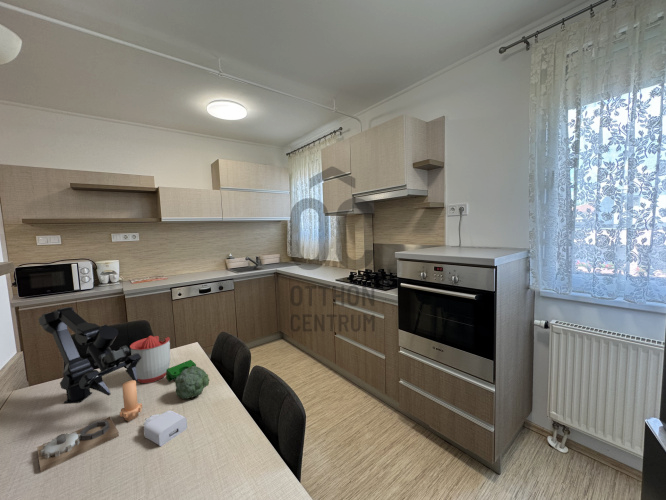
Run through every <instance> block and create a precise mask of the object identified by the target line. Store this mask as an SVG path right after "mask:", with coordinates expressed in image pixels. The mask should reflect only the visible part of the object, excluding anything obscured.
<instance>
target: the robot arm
mask: <svg viewBox="0 0 666 500" xmlns="http://www.w3.org/2000/svg"><path fill="white" fill-rule="evenodd" d="M38 323H39V325H40V326H41V327H42V329H43V330H44V332H45V331H46V332H47V333H49V334H51V335H52V336H53V339H54V341H55V344H56V346H57V348H58V350H59V353H60V355H61V357H62V360H63V362H64V364H65V366H64V370H63V372H62V373H63V378H62V379H61V381H60V382H59V384H60V385H59V386H60V388H61V389H63V390H65V392H66V399H65V400H64V401H63V404H72V403H73V404H74V403H82V401H84V400H85V399H87V398H88V397H89V396H91V395H92V394H93V391H91V389H92V390H94V391H98V392H100V393H102V394H104V395H106V396H111V394H112V392H111V390H110V389H109V387H108V386H107V384H106V383H105V382H104V380H103V376H106V375H108V374H110V373H113V372H114V371H115V372H116V371H117V370H120V369H122V368H124V369H125V372H126V374H127V375H128V376H129V377H130V379H131V380H135V381H136V383H137V382H138V380H137V373H136V365H137V363H138V362H139V360H140V359H141V356H140V354H138V353H135V354H133V355H129V356H127V354H129V353H130V347H128V345H127V344H126V345H123V346H121V347H119V349H118V350H115V349H113V350H112V348H111V347H110V346H111V345H113V343H114V341H115V340H116V338H117V337H118V335H119V330H118V329H117V328H115V327H114V326H109V325H108V324H104V325H99V324H96V323H91V322H88V321H87V320H85V319H84V318H83V317H82V316H81V315H79V314H78V313H77V312H75V310H74V308H73V307H72V306H71V307H70V306H66V307H61V308H58V309H55V310H53V311H51V312H46V313H42V315H41V316H40V317H39V318H38ZM68 328H69V329H70V330H71V332H73V333H74V334H75V337H74V339H75V340H76V342H77V343H78V344H79V345H80V346H85V345H89V346H87V349H86V355H88V354H89V355H90V356H91V358H92V359H93V360H94V366H95V367H98V369H99V370H98V369H94V367H93V366H92V364H91V362H90V360H89V359H88V358H83V357H81V356H80V353H79V351H78V349H77V346H76V345H75V342H74V339H73V338H72V335H71V333H70V330H69V329H68ZM125 357H126V358H125ZM123 358H125V360H124V361H123Z"/></svg>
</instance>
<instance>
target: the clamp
mask: <svg viewBox="0 0 666 500" xmlns="http://www.w3.org/2000/svg"><path fill="white" fill-rule="evenodd" d="M191 366H197V363H196V362H194V360H192V359H189V360H186V361H183V362H182V363H178V364H176V365H174V366H172V367H169V368H168V369H166V376H165V379H166V380H167V381H168V382H171V381H174V380H175V379H176V377H177V376H179V375H180V374H181V372H182V371H183V370H185V369H187V368H189V367H191Z"/></svg>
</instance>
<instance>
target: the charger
mask: <svg viewBox="0 0 666 500" xmlns="http://www.w3.org/2000/svg"><path fill="white" fill-rule="evenodd" d="M144 420H145V421H144V422H143V424H142V426H143V434H144V436H143V437H145V438H146V439H148V440H149V441H151V442H152V443H154V444H157V445H158V446H160V447H162V446H165V445H166V444H167V443H168V442H170V441H171V440H173V439H174V438H176V437H177V436H178V435H180V434H182V433H183V432H185V431H186V430H187V429H188V418H187V417H185V416H183V415H181V414H180V413H177V412H175V411H173V410H169V409H168V410H167V411H164V412H162V413H161V414H159V413H157V414H153V415H150V416H149V417H148V418H145V419H144Z"/></svg>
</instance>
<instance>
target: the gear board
mask: <svg viewBox="0 0 666 500" xmlns="http://www.w3.org/2000/svg"><path fill="white" fill-rule="evenodd" d="M119 433H120V432H119V430H118V428H117V426H116V425H115V423H114V422H113V420H112V418H111V417H110V416H109V417H106V418H104V419H101V420H96V421H95V422H92V423H91V424H90V423H89V424H88V425H87V426H84V427H82V428H80V429H77V430H75V431H72V432H70V433H68V432H67V433H66V432H65V433H61V434H58V435H57V436H55V437H54V438H52V439H51V441H48V442H46V443H44V444H42V445H39V446H37V447H36V448H37V457H38V463H39V470H40V473H43V472H45V471H47V470H49V469H52V468H54V467H56V466H58V465H60V464H62V463H64V462H67V461H68V460H70V459H73V458H75V457H77V456H79V455H81V454H84V453H86V452H89V451H90V450H92V449H94V448H97V447H98V446H102V445H103V444H105V443H107V442H110V441H111V440H113V439H116V438H118V437H120V434H119Z"/></svg>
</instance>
